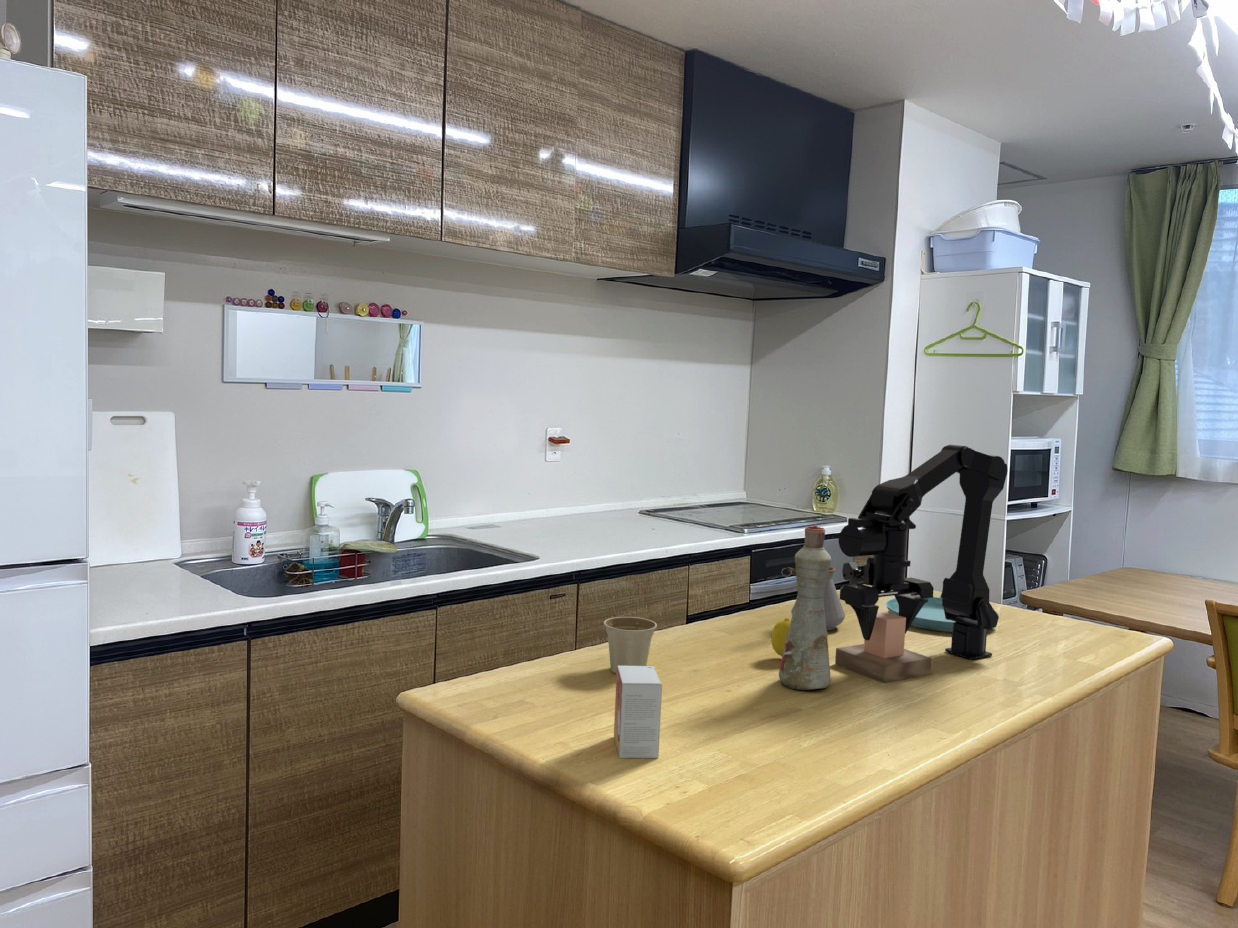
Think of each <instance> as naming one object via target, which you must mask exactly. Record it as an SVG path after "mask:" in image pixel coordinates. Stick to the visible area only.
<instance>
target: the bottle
mask: <svg viewBox="0 0 1238 928" xmlns="http://www.w3.org/2000/svg"><path fill="white" fill-rule="evenodd" d="M825 535H826V530H825V528H824V527H821V526H818V525H817V524H814V525H813V526H812V525H811V526H806V527H805V528H804V545H803V547H802V548H800V549H799V550H798V551H797V552H796V553H795V554H794V562H795V570H796V574H797V576H796V584H797V585H796V586H797V587H796V590H797V596H796V599H795V602H796V603H794V604H795V607H794V611H793V614H792V613H791V619H790V620H791V623H790V627H789V631H788V635H787V639H786V643H785V647H784V651H783V656H782V657H781V660H780V666H779V672H778V678H779V680H780V681H781V683H782V684H783V685H784V686H785V687H787V688H790V689H795V690H800V691H801V690H802V691H806V690H817V689H818V690H820V689H821V690H822V689H825V688H828V686H829V685H830V683H831V666H830V665H831V664H830V654H829V643H828V635H829V634H828V630H826V619H825V609H824V599H823V595H824V591H825V586H826V582H827V576H828V573H829V567H831V564H832V557H831V555H830V554H829V552H828V551H827V550H826V549H825V546H824V543H825V537H826V536H825Z"/></svg>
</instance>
